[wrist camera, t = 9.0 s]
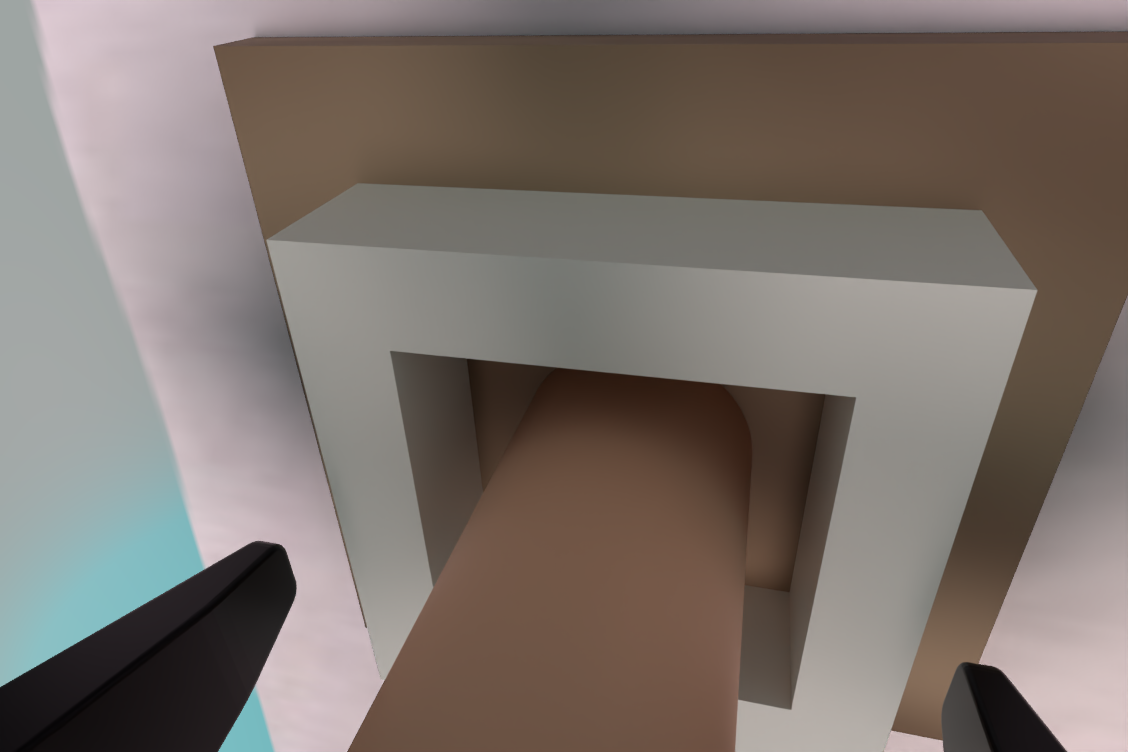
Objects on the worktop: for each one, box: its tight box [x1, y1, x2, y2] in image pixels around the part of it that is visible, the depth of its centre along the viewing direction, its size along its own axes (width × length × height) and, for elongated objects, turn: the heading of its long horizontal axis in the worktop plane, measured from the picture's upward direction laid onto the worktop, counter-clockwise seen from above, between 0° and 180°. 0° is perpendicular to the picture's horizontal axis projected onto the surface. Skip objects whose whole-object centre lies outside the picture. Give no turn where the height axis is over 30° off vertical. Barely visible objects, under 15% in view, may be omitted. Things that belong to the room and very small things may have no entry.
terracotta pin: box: [347, 368, 752, 752], centre depth 10 cm, size 4×4×8 cm
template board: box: [213, 32, 1128, 752], centre depth 12 cm, size 13×13×4 cm
